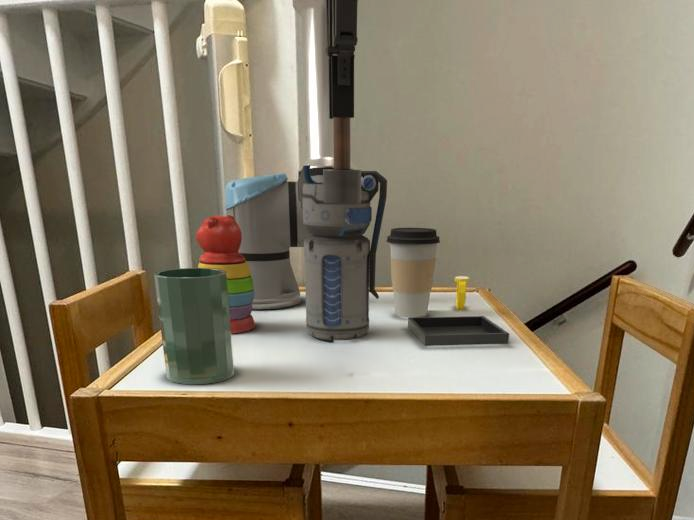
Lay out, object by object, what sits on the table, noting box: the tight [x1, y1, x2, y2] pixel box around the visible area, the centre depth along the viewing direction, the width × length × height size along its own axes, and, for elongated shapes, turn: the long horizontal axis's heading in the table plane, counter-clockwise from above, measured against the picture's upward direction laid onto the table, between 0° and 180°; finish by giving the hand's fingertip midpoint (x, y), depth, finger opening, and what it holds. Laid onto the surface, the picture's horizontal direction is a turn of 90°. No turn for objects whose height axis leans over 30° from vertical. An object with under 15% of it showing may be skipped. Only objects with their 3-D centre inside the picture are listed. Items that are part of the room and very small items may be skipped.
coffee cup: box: [386, 227, 441, 318], centre depth 119 cm, size 9×9×15 cm
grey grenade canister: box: [297, 165, 388, 342], centre depth 103 cm, size 10×13×25 cm
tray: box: [407, 315, 510, 347], centre depth 107 cm, size 13×13×2 cm
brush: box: [323, 23, 362, 204], centre depth 85 cm, size 5×5×20 cm
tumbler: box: [153, 267, 235, 385], centre depth 85 cm, size 9×9×13 cm
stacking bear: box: [195, 214, 256, 334], centre depth 109 cm, size 11×10×18 cm
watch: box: [454, 275, 470, 311], centre depth 128 cm, size 6×3×6 cm, turn 176°
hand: (341, 117), depth 85 cm, fingers closed on brush, 2 cm apart
